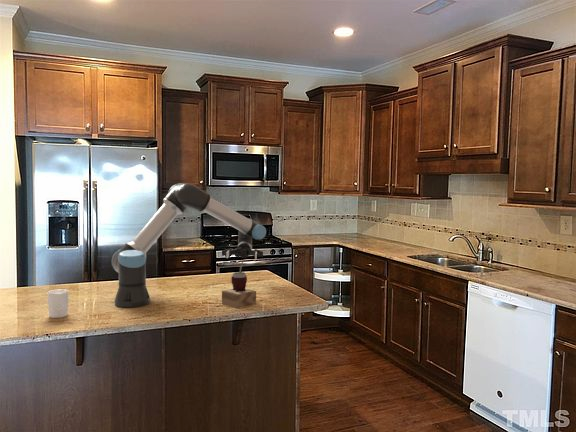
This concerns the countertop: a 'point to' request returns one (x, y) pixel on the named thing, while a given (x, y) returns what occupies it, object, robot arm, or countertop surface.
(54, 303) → the white cup
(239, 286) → the mate gourd
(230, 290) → the brown cardboard box
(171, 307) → the countertop surface
